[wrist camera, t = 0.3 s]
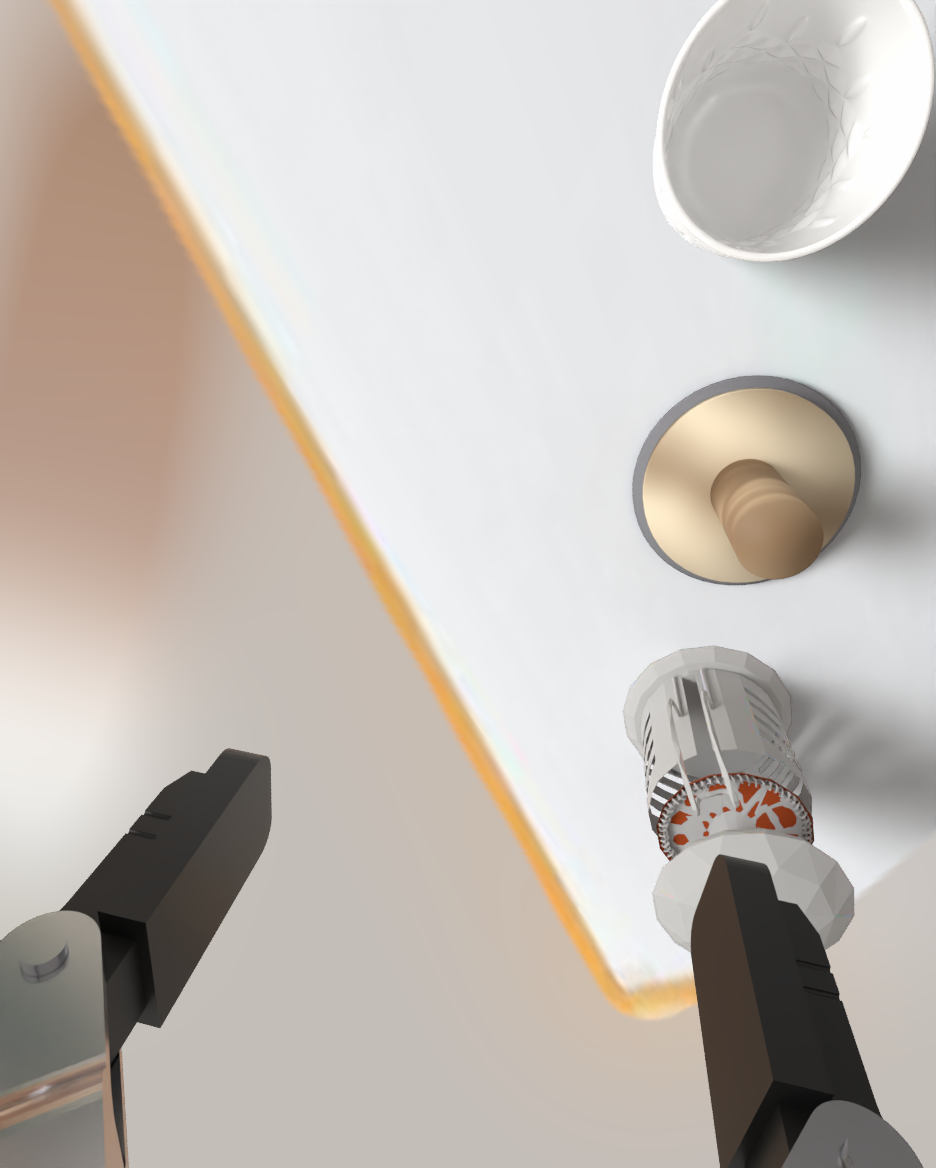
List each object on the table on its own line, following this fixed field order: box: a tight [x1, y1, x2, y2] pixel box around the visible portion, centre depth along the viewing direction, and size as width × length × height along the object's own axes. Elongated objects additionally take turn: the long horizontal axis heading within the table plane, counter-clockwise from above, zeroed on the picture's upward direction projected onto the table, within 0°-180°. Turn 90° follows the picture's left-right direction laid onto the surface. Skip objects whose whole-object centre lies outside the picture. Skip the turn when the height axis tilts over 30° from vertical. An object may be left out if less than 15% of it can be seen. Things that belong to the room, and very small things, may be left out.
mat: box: [633, 376, 861, 585], centre depth 35 cm, size 11×11×1 cm
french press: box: [623, 646, 854, 952], centre depth 30 cm, size 10×12×25 cm
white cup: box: [653, 0, 935, 262], centre depth 25 cm, size 8×8×10 cm
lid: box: [643, 387, 855, 583], centre depth 31 cm, size 10×10×8 cm
